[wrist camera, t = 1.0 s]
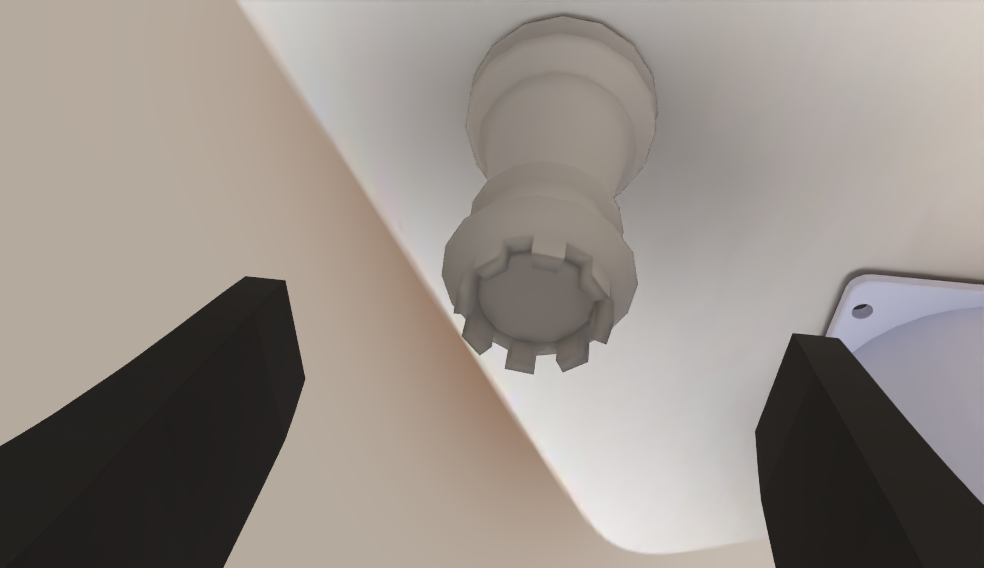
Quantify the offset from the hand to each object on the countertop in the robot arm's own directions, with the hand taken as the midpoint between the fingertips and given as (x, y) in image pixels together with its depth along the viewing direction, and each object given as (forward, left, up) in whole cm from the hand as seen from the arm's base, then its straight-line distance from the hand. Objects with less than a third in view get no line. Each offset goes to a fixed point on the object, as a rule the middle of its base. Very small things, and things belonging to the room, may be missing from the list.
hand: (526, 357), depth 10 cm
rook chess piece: (0, 0, -9) cm, 9 cm away
